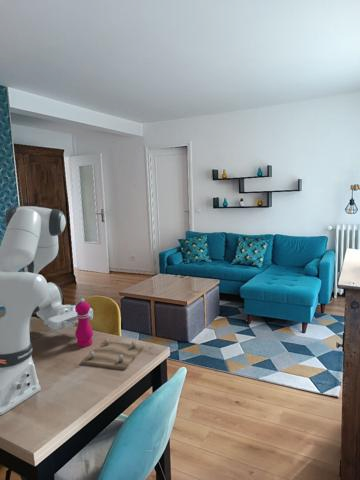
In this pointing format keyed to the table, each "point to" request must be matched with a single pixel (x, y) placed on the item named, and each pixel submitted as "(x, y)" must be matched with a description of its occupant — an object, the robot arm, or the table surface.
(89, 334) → the pepper mill
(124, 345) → the pin base
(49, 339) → the table surface
